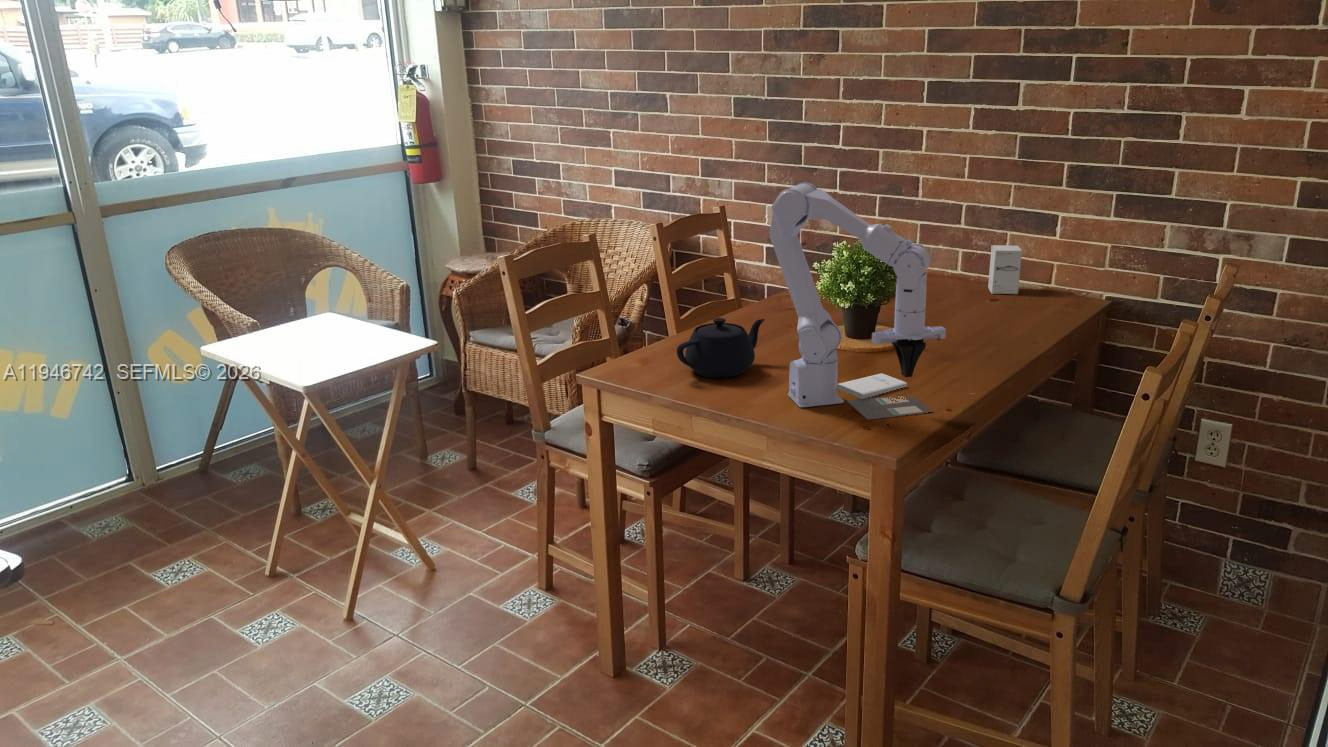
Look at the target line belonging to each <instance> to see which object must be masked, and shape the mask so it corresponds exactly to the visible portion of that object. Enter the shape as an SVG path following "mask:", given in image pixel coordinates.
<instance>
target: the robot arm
mask: <svg viewBox="0 0 1328 747" xmlns="http://www.w3.org/2000/svg"><path fill="white" fill-rule="evenodd" d="M771 210H772V215H771V221H770V228H769V238H770V241H771V244H772V247H773V250H774V252H775V256H776V258H777V261H778V264H779V267H780V269H781V271H782V272H781V273H782V275H783V278H784V280H785V284H786V287H787V290H788V292H789V295H790V298H791V301H792V303H793V306H794V310H795V312H796V314H797V317H798V318H797V319H798V320H797V327H796V332H797V335H798V340H799V341H798V351H799V354H800V355H801V357H800V358H799V359H795V360H791V361H790V363H789V368H788V369H789V371H788V373H789V374H788V375H789V376H788V377H789V378H788V393H787V396H788V397H790V399H791V400H792V401H793V402H794V403H795V405H797V406H798V407H799V408H808V407H818V406H819V407H820V406H829V405H837V404H838V405H839V404H844V402H845V401H844V399H843V398H841V397H840V396H839V394H838V389H837V384H838V363H839V362H838V361H839V360H838V358H839V355H838V353H837V348H838V347H839V346H840V344H841V341H842V332H841V329H840V328H839V327H838V325H837V324H836V323H835V322H834V321H833V319H832V317H831V314H830V313H829V312H828V311H827V310H826V309H825V308H824V307H823V304H822V300H821V299H820V295H819V292H818V290H817V287H816V285H815V281H814V278H813V276H812V272H811V269H810V267H809V263H808V261H807V259H806V258H807V257H806V255H805V253H804V250H803V247H802V244H801V241H800V238H799V233H800V231H801V230H802V228H803V227H804V224H805V222H806V221H807V220H809V221H810V220H826V221H828V222H830V223H832V224H833V225H834V226H836V227H838V228H840V229H842V230H844V231H845V232H847V233H848V234H850V235H852V236H854V237H855V238H857V239H859V240H860V243H861V246H862V249H863V250H865V251H866V252H867V253H869V254H870V255H872V256H873V257H876V258H877V259H878V260H880V261H882V262H883V264H886V265H887V266H889V267H892V268H893V272H894V273H895V275H896V285H895V301H894V326H893V328H890V329H886V330H881V331H875V332H872V333H871V343H872V344H874V345H875V346H879V345H881V344H887V343H888V344H889V343H891V344H892V347H893V349H894V351H895V353H896V354H895V355H896V357H897V359H898V362H899V367H900V373H901V375H902V377H904V378H912V377H913V375H914V371H915V368H916V366H917V363H918V361H919V358H920V357H921V355H922V354H923V353H924V351H925V350H926V347H927V346H926V345H927V343H926V341H924V340H928V339H931V340H932V339H940V340H941V339H946V335H947V334H946V332H947V330H946V328H945V327H943V326H925V324H926V322H925V321H926V307H927V306H926V304H927V290H928V288H927V280H928V279H927V275H928V274H927V272H926V271H927V270H928V269H929V268H930V265H931V261H932V260H931V258H932V256H931V254H930V251H929V250H928V249H927V248H925V247H924V245H923V244H921V243H913V241H912V240H911V239H910V238H908V239H905V238H904V237H902V236H901V235H899V234H897V233H896V232H894V231H893V230H892V228H893V227H892V226H891V225H890V224H888V223H886V224H884V225H883V224H882V223H875V224H870V223H869V222H867V221H865V219H863V218H862V217H860V216H859V215H857V214H856V213H855V212H853V211H852V210H850V208H848V207H846V206H845V205H843V204H842V203H840V202H839V201H838V200H836V199H835V198H834V197H833V196H831V195H830V194H828V193H827V191H826V190H824V189H821V188H817V187H816V185H814V184H812V183H810V182H799V183H798V184H796V185H795V186H792V187H790V188H786V189H784V190H782V191H780V193H779V194H778V195H777V197H776V199H775V201H774V202H773V203H772V205H771Z"/></svg>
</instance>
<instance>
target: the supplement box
mask: <svg viewBox="0 0 1328 747" xmlns="http://www.w3.org/2000/svg"><path fill="white" fill-rule="evenodd" d="M990 248H991V249H990V261H989V262H990V263H989V272H988V282H987V283H988V285H987V287H988V290H989V292H990V293H991V294H992V295H993V294H994V295H995V294H999V295H1000V294H1001V295H1002V294H1003V295H1006V294H1007V295H1019V289H1020V287H1019V286H1020V278H1021V277H1020V276H1021V274H1020V273H1021V266H1022V254H1023V250H1022V249H1021V248H1020V246H1019V245H1010V244H1009V245H1006V244H1005V245H1004V244H1003V245H1001V244H1000V245H999V244H995V245H994V244H993V245H991V246H990Z"/></svg>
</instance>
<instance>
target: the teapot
mask: <svg viewBox="0 0 1328 747" xmlns="http://www.w3.org/2000/svg"><path fill="white" fill-rule="evenodd" d="M712 321H713V322H710V323H707V324H706V323H705V324H701V325H698V326H696V327H695V328H694V329H693V331H692V333H691V336H690V337H689V339H688V341H685V342H682V343H680V344H679V345H678V346H677V348H676V354H677V358H678V359H679V361H680V362H681V363H682V364H684V365H685V366H687V367H689V368H690V369H691V370H692V371H693V372H695V374H697V375H699V376H701V377H706V378H711V379H712V378H713V379H724V378H726V379H727V378H733V377H736V376H737V377H738V376H741V375H742V374H744V373H745V372H746V370H748V369H749V368H750V367H751V366H752V365H753V364H754V362H755V358H756V357H755V355H756V354H755V348H756V346H757V343H758V336H759V330H760V327H761V325H762V324H763V322H764V321H766V319H765V318H761V319H757V320H755V321H754V322H753V324H752V325H751V328H750V331H749V332H747V330H746V329H745V328H744V327H743V326H742V325H739V324H736V323H730V322H729V323H728V322H726V321H727V320H726V319H725V317H716V318H713V319H712ZM684 350H685V352H684Z"/></svg>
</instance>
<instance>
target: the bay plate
mask: <svg viewBox="0 0 1328 747" xmlns="http://www.w3.org/2000/svg"><path fill="white" fill-rule="evenodd" d="M908 394H909V395H910V394H911V393H908ZM897 395H898V398H899V397H900V396H899V395H900V394H897ZM888 396H889V399H888V397H887V398H886V397H885V396H874V397H869V398H866V399H861V398H857V399H849V400H846V402H847V403H848V404H849V405H850V406H851V407H853V408H854V410H855V411H857V412H858V413H859V414H860V415H861V416H862V417H864V418H865V419H866V420H868V421H871V420H878V419H888V418H895V417H897V416H898V417H906V415H908V416H914V415H915V414H917V415H925V414H924V413H926V414H929V413H928V412H932V411H933V410H932V411H929V410H931V409H930V408H929V407H928V406H926V405H925V404H924V403H923V402H922V401H920V400H919V399H917V398H916V397H915V398H911V397H904V396H901V397H900V399H896V398H892V397H890V396H891V395H888ZM911 396H913V395H912V394H911ZM902 397H903V399H904V398H905V400H903V399H901V398H902ZM890 398H892V399H891V400H893V399H894V401H891V400H890ZM906 398H907V400H906ZM908 399H909V400H908ZM895 400H896V401H898V402H895ZM903 402H904V403H903ZM906 402H907V403H906ZM892 403H893V404H892ZM894 403H895V404H894ZM896 404H898V405H896ZM899 404H900V405H899ZM890 405H891V406H890ZM892 406H893V407H892ZM926 408H927V409H926ZM928 409H929V410H928ZM922 410H923V411H922ZM924 411H925V412H924ZM926 411H927V412H926ZM920 412H921V413H920Z"/></svg>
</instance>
